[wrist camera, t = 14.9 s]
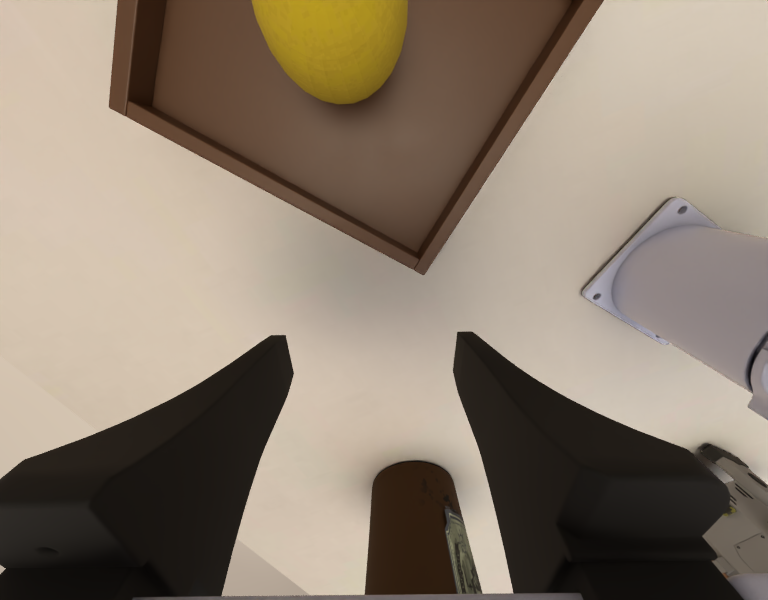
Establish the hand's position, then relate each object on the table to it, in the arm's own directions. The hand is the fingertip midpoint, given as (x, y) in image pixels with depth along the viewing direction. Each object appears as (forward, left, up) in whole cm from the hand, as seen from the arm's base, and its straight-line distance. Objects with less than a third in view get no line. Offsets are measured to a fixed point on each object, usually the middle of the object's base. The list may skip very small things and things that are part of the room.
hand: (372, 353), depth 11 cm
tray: (+7, -10, -9) cm, 15 cm away
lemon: (+7, -10, -9) cm, 15 cm away
